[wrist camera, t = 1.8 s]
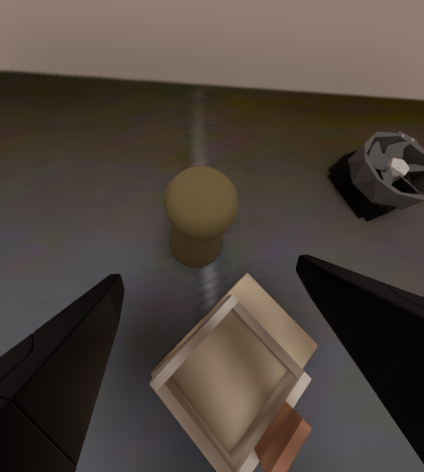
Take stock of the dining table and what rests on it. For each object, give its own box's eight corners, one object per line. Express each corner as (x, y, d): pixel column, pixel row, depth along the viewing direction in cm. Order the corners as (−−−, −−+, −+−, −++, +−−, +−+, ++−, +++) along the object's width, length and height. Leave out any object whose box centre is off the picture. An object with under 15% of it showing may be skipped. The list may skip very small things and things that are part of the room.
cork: (194, 278, 21) (200, 257, 10) (159, 239, 21) (132, 183, 11) (232, 244, 22) (269, 196, 12) (198, 209, 23) (206, 137, 13)
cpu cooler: (405, 210, 20) (348, 140, 23) (359, 229, 26) (317, 171, 28) (459, 181, 23) (403, 121, 25) (407, 204, 28) (365, 153, 30)
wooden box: (227, 466, 16) (247, 548, 11) (152, 370, 17) (137, 400, 12) (312, 343, 20) (355, 358, 15) (244, 273, 21) (262, 265, 16)
